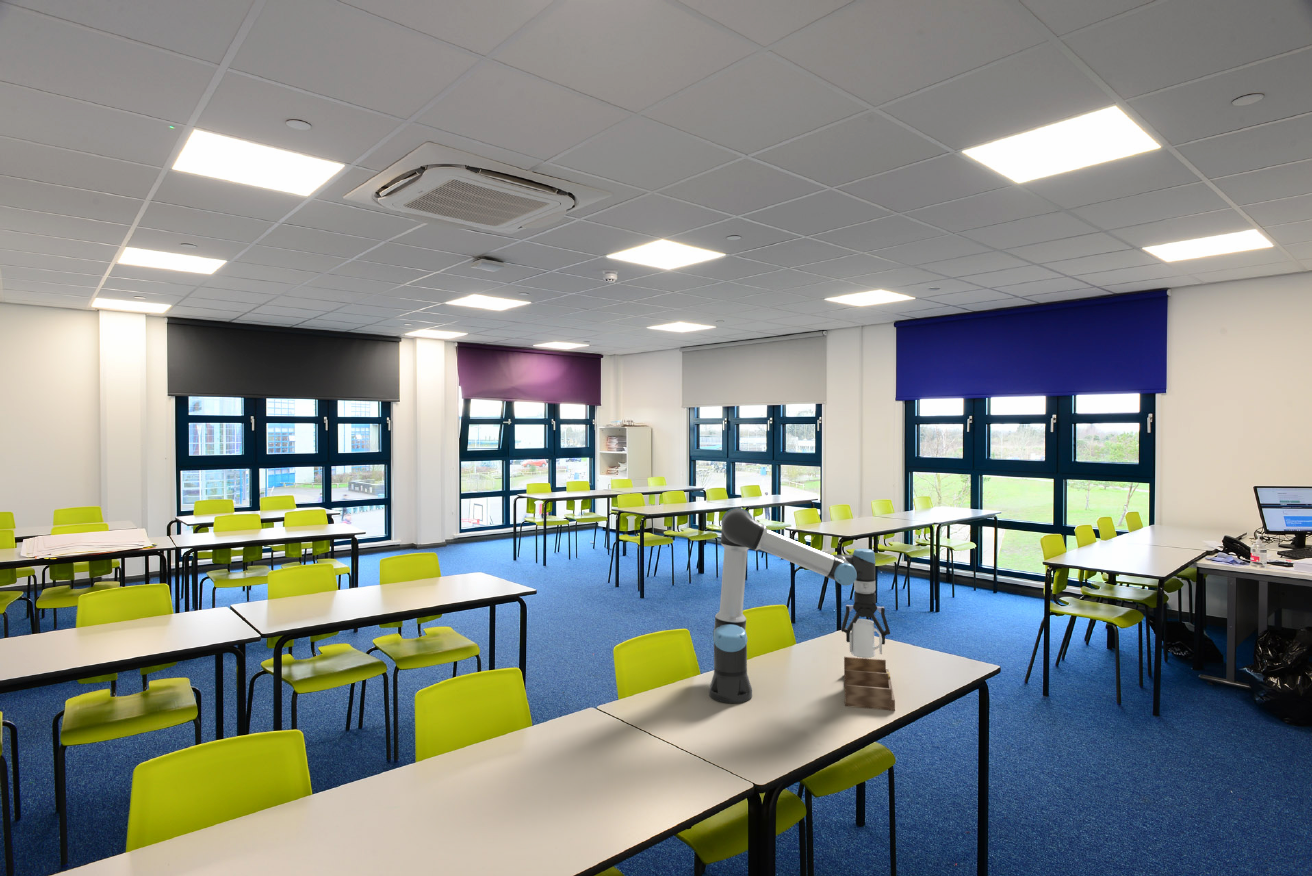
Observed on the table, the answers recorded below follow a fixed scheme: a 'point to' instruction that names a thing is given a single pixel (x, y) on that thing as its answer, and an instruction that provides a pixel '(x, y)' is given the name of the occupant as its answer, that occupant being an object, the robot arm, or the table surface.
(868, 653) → the mug
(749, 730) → the table surface
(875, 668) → the rack
